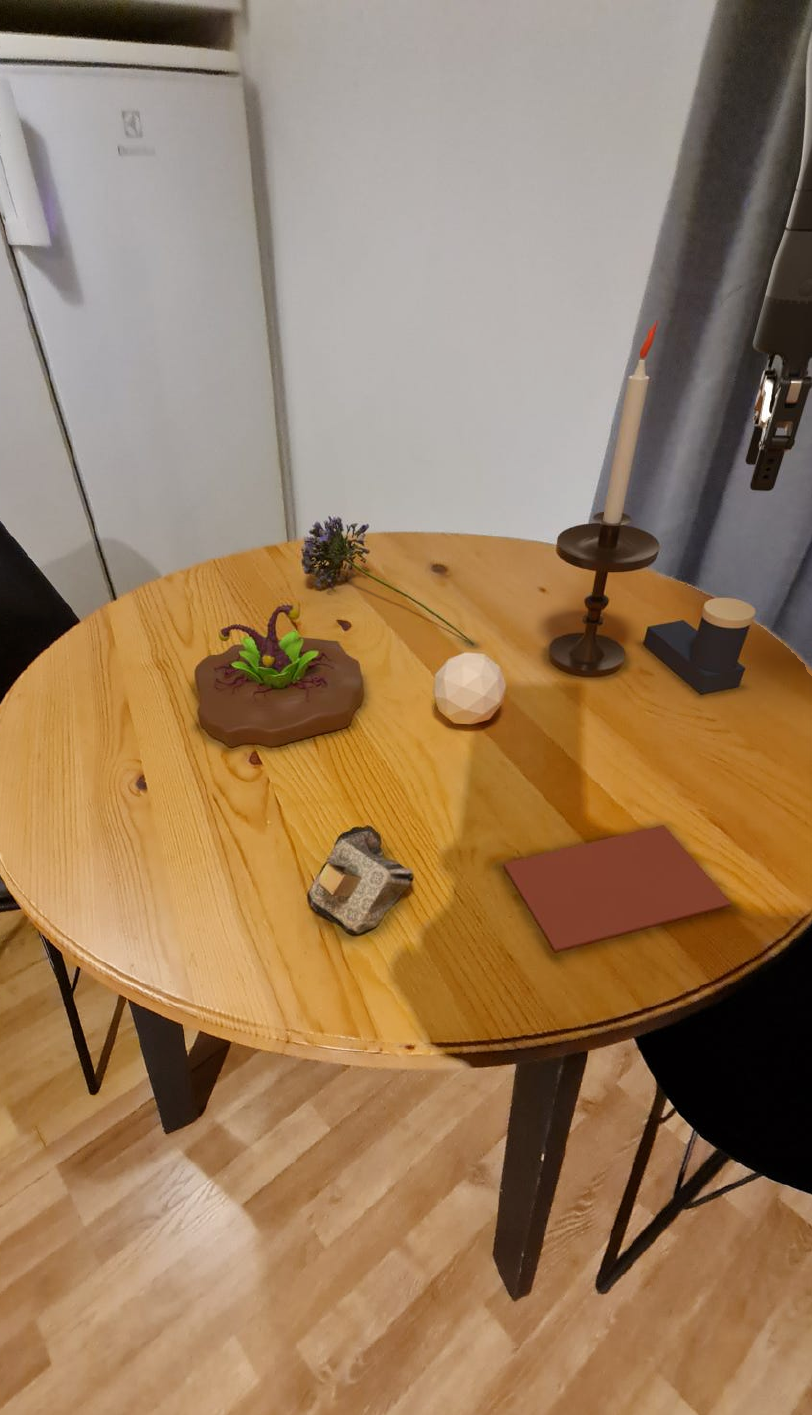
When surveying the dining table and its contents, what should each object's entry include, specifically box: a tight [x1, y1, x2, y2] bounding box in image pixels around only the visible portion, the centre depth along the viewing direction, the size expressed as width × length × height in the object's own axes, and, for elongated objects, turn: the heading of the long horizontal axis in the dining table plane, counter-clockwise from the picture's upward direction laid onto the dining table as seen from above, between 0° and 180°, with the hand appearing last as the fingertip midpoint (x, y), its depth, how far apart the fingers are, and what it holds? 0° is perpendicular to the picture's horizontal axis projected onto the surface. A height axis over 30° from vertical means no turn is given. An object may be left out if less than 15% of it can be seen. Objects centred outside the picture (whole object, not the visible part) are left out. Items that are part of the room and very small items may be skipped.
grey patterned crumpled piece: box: [306, 824, 415, 935], centre depth 64 cm, size 8×7×12 cm
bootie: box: [643, 597, 756, 696], centre depth 87 cm, size 12×5×9 cm, turn 16°
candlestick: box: [547, 320, 660, 678], centre depth 80 cm, size 11×11×35 cm
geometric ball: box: [432, 651, 507, 725], centre depth 81 cm, size 8×8×8 cm
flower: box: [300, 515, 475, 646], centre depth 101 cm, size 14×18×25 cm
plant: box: [194, 604, 364, 748], centre depth 85 cm, size 20×20×11 cm
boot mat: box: [502, 824, 733, 953], centre depth 64 cm, size 16×10×1 cm, turn 106°
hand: (757, 476), depth 79 cm, fingers open, 8 cm apart
